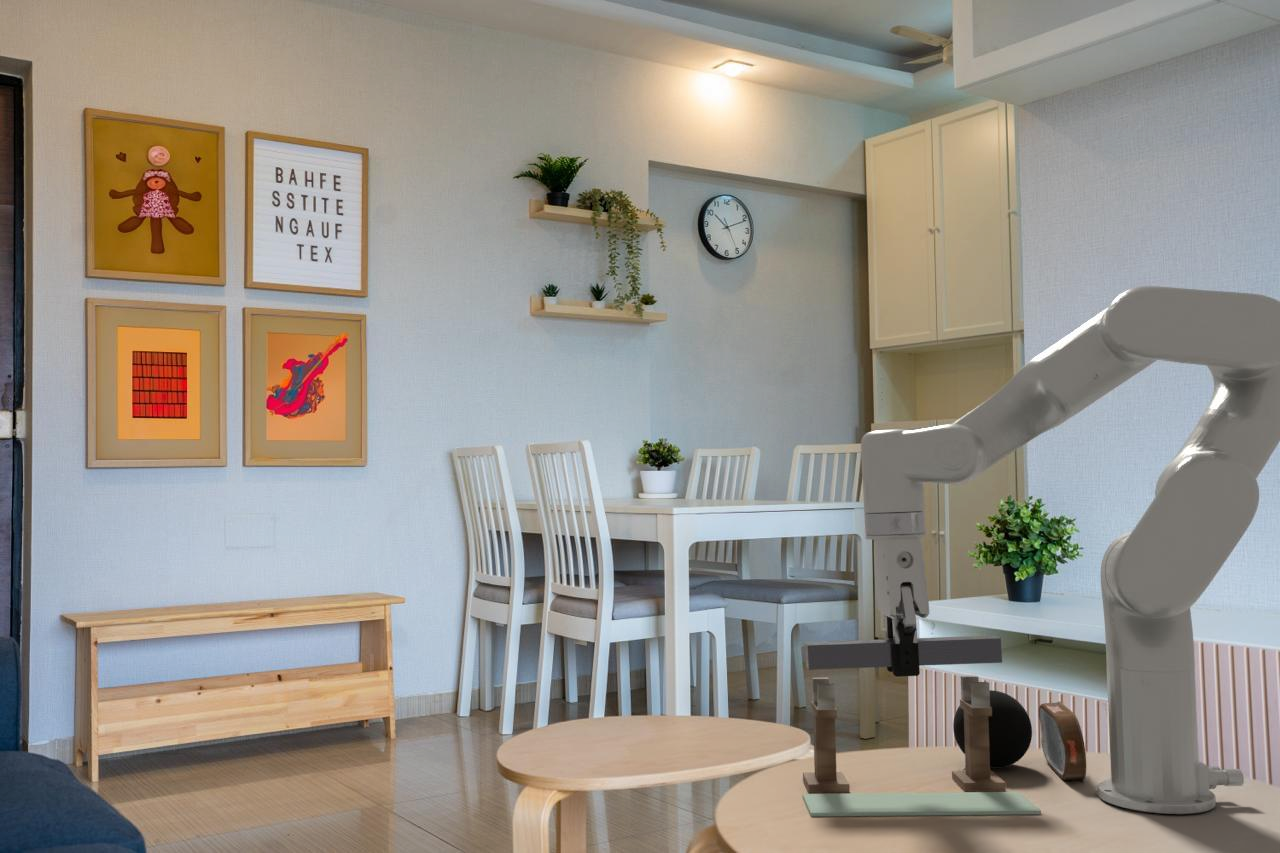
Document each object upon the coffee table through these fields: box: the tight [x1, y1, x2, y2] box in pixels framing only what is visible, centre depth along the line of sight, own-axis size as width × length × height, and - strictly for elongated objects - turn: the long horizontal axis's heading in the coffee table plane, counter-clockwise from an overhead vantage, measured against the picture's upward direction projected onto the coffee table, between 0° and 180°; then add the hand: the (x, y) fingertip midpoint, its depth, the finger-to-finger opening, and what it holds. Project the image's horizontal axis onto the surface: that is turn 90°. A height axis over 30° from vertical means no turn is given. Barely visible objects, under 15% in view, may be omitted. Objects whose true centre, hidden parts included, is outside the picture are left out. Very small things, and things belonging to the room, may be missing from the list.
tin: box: [1038, 701, 1087, 781], centre depth 145 cm, size 15×3×8 cm, turn 172°
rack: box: [802, 675, 1007, 794], centre depth 140 cm, size 24×6×13 cm, turn 89°
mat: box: [802, 791, 1042, 817], centre depth 131 cm, size 26×8×1 cm, turn 89°
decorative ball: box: [952, 689, 1033, 769], centre depth 149 cm, size 10×10×10 cm
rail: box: [804, 634, 1003, 671], centre depth 141 cm, size 24×3×3 cm, turn 89°
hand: (903, 672), depth 140 cm, fingers closed on rail, 3 cm apart
